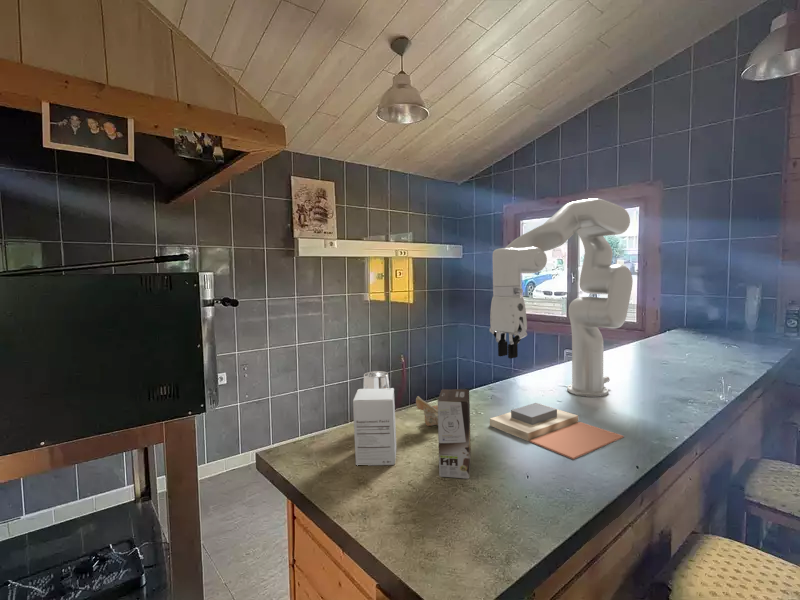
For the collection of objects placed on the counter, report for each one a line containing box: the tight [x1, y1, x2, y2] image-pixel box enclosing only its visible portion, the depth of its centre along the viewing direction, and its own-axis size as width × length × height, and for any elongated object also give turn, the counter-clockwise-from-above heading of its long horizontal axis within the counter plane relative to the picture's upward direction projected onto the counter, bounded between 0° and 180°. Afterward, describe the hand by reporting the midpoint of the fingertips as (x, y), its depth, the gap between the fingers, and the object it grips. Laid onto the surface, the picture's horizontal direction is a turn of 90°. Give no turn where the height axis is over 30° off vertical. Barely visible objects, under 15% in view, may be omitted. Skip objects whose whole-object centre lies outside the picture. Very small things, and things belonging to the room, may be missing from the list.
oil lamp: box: [415, 395, 438, 427], centre depth 118 cm, size 9×21×10 cm, turn 138°
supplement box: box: [352, 387, 397, 467], centre depth 97 cm, size 9×9×15 cm
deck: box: [489, 403, 579, 442], centre depth 114 cm, size 20×13×2 cm, turn 123°
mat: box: [529, 421, 625, 460], centre depth 103 cm, size 20×12×1 cm, turn 123°
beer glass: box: [363, 370, 390, 389], centre depth 114 cm, size 7×7×15 cm
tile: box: [510, 402, 558, 425], centre depth 114 cm, size 10×7×2 cm
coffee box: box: [437, 388, 472, 480], centre depth 90 cm, size 9×6×16 cm
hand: (507, 356), depth 120 cm, fingers open, 3 cm apart
